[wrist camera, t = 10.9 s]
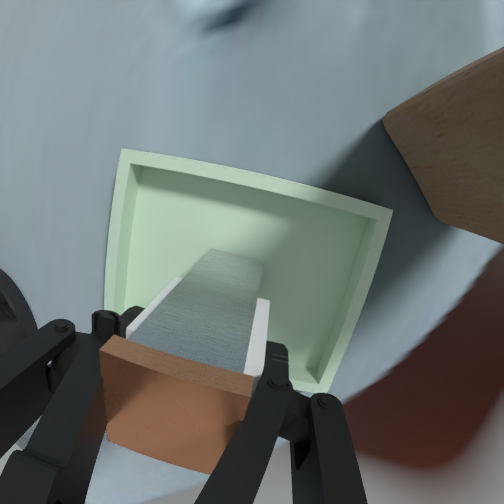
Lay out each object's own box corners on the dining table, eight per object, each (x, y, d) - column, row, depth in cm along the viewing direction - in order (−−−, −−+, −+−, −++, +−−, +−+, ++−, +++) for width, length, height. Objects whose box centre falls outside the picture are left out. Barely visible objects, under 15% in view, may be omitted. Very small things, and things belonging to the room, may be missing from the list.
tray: (118, 322, 27) (103, 336, 24) (138, 150, 23) (121, 148, 20) (322, 374, 26) (325, 394, 23) (380, 206, 22) (393, 210, 19)
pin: (197, 299, 23) (107, 440, 9) (208, 243, 22) (99, 349, 8) (255, 313, 23) (223, 477, 9) (269, 258, 22) (250, 396, 8)
